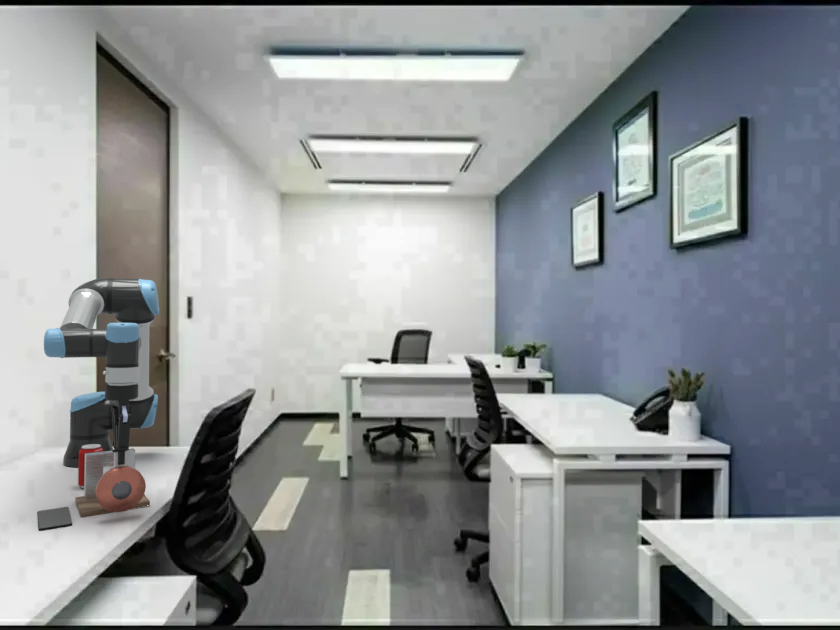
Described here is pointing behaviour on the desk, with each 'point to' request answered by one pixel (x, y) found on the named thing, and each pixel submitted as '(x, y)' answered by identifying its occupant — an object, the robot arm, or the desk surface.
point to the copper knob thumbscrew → (120, 489)
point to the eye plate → (100, 469)
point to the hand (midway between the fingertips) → (120, 476)
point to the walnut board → (99, 506)
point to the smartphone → (54, 518)
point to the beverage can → (81, 465)
